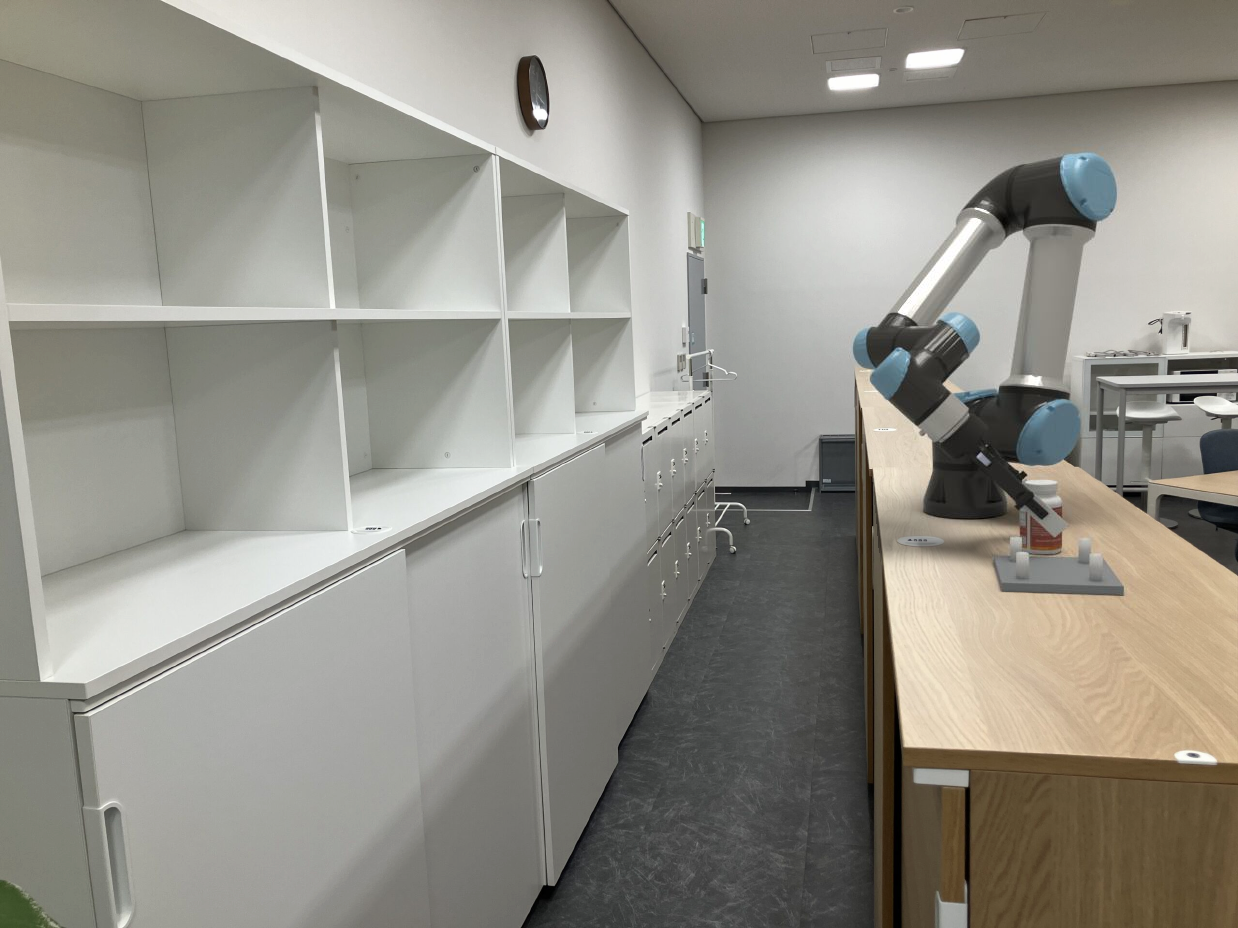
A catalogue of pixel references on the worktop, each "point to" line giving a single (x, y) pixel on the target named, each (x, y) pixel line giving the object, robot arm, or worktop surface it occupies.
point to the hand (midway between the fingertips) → (1055, 521)
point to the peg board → (1056, 572)
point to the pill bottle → (1031, 530)
